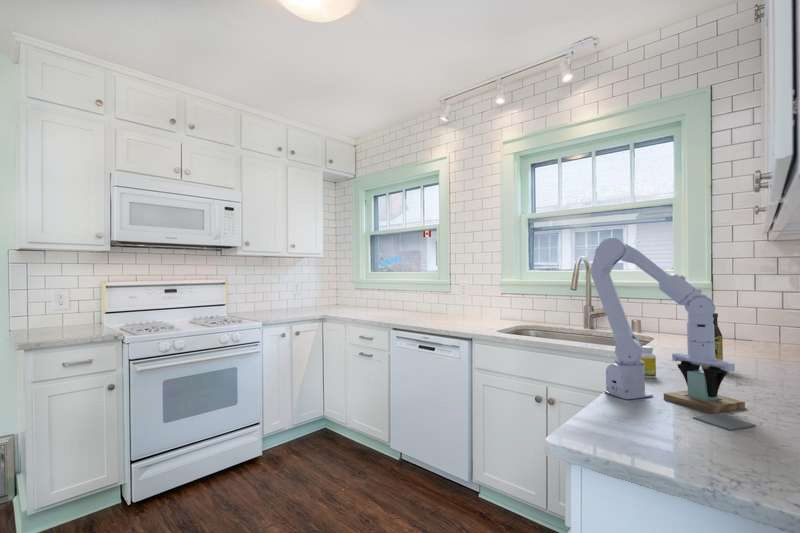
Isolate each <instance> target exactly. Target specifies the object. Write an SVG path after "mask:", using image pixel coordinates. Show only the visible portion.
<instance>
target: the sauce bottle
mask: <svg viewBox="0 0 800 533" xmlns="http://www.w3.org/2000/svg"><path fill="white" fill-rule="evenodd" d="M718 317H719V313H717V312H714V313H713V318H714V320H713V324H714V334H715V358H716V359H718V360H722V361H724V354H723V353H724V349H723V348H724V347H723V342H724V341H723V334H722V332H721V330H720V328H719V327H720V326H719V324H718ZM702 364H703V363H702ZM700 367H701V368H702V370H703V369H708V368H709V367H705V366H700ZM709 369H710V368H709Z"/></svg>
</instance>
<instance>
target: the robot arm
mask: <svg viewBox="0 0 800 533" xmlns="http://www.w3.org/2000/svg"><path fill="white" fill-rule="evenodd" d="M620 261H622V262H624V263H625V262H626V263H630V264H633V265H635V266H636V267H637V268H639V269H640V270H642V271H643V272H645V274H647V275H648V276H650V277H651V278H652V279H654V280H655V281H656V282H658V289H659V290H660V291H661V292H662V293H664V294H665V295H666V296H667V297H669V298H670V299H671V300H673V301H674V302H675V303H676V304H678V306H684V308H685V310H686V312H687V322H686V335H687V336H686V338H687V339H686V340H687V341H686V342H687V345H686V346H687V354H686V353H678V352H676V353H675V352H674V353H672V354H671V356H672V362H673V361H674V362H680V363H678V364H677V368H678V369H679V370H680V373H681V374H682V376H683V378H684V380H685V383H686V385H687V387H688V380H687V371H693V370H700V367H701V366H705V367H709V368H710V369H709V368H708V369H703V368H702V370H703V371H704V374H705V377H706V381H707V392H708V397H717V393H718V392H719V389H720V386H721V384H722V381H723V380H724V378H725V377H726V375H727V374H728V373H731V372H735V371H736V370H735V368H736V366H735V362H731V361H730V362H729V361H725V360H723V361H722V360H718V359H716V358H715V334H714V324H713V320H714V318H713V313H716V308H717V307H716V306H715V304H714V301H713V300H712V299H711V298H710V297H708V296H707V295H705V294H703V290H702V289H701V288H698V289H697V288H696V287H695V286H693V284H690V282H688V281H687V280H686V279H687V277H686V276H684V275H681V274H680V275H679V274H677V273H667V272H666V271H664V270H663V269H662V268H661V267H659V266H658V265H657V264H656V263H655V262H654V261H652V260H651V259H650V258H648V257H647V256H646V255H645V254H643V253H642V252H641V251H639V250H638V249H636V248H634V247H632V246H631V245H629V244H627V243H624V242H622V240H621V239H619V238H617V237H606V238H604V239H603V240H602V241H601V242H600V243H599V245H598V246H597V247H596V249H595V251H594V257H593V261H592V263H591V264H592V265H591V266H590V275H591V277H592V281H593V283H594V286H595V288H596V291H597V294H598V296H599V299H600V302H601V305H602V307H603V310H604V312H605V315H606V317H607V321H608V323H609V326H610V329H611V332H612V335H613V340H614V342H615V348H614V354H615V358H614V362H612V363H610V364H609V365H608V366H607V367H606V369H605V389H603V392H604V393H606V391H608V392H609V393H608V394H609V395H612V396H615V397H617V398H621V399H623V400H634V399H641V398H649V397H650V398H651V397H654V394H652V393H649V392H647V391H646V382H645V381H646V380H645V373H644V361H643V360H641V354H642V346H643V344H642V343H641V341H640V340H639V339H638V338H637V337H636V336H635V334H634V331H633V329H632V327H631V325H630V324H629V321H628V317H627V316H626V313H625V311H624V308H623V305H622V303H621V300H620V297H619V295H618V292H617V290H616V287H615V285H614V282H613V279H612V276H611V272H612V270H614V267H615V266H616V264H617V263H619V262H620ZM702 363H703V364H702Z"/></svg>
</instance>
